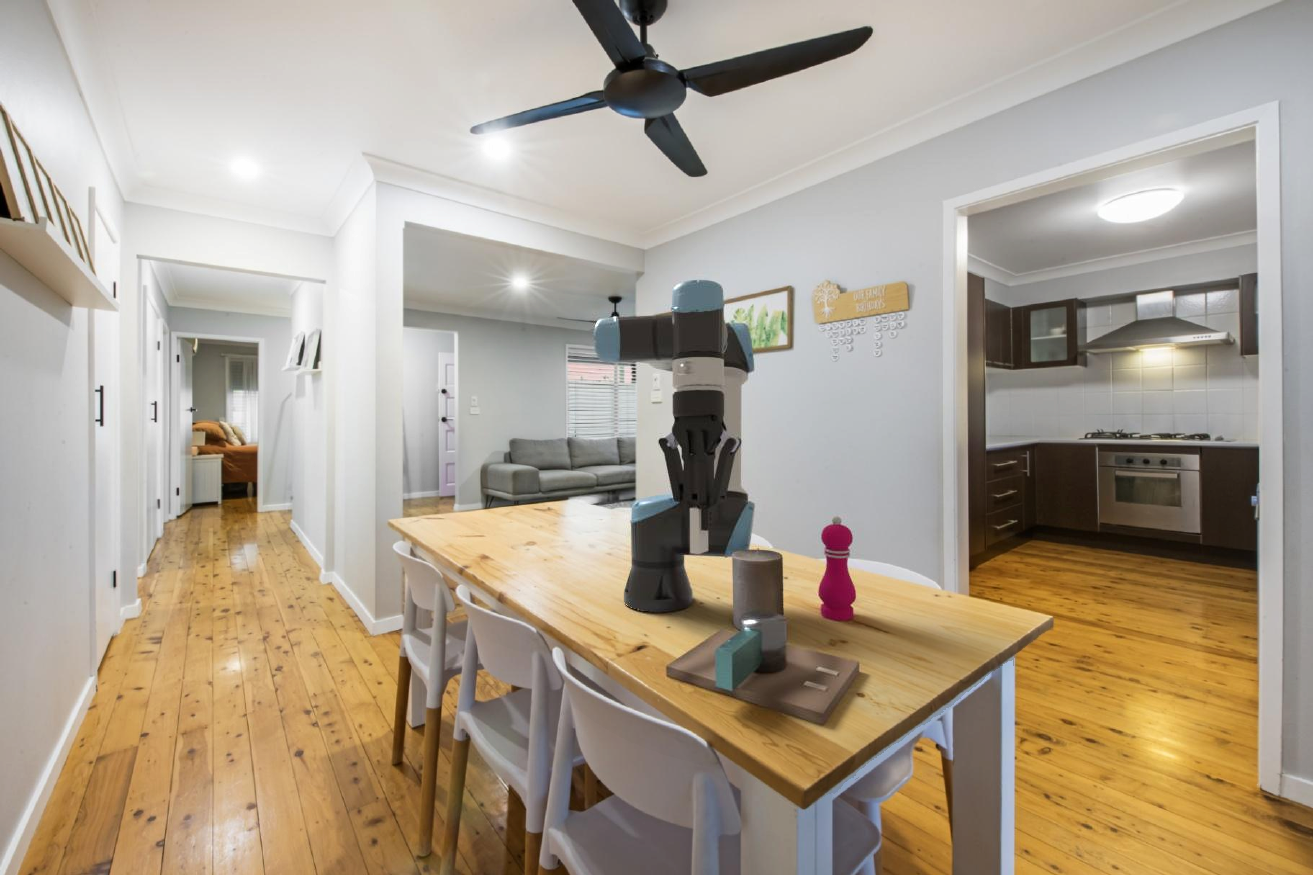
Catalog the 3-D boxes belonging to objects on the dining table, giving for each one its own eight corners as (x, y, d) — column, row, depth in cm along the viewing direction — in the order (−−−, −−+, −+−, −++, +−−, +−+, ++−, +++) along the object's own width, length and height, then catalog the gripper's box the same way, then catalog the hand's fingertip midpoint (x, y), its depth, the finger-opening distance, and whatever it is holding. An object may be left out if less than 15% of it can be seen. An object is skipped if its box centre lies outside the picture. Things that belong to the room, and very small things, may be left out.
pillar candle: (791, 622, 102) (790, 545, 102) (772, 639, 94) (771, 555, 94) (745, 614, 107) (744, 541, 107) (723, 628, 99) (722, 549, 99)
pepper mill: (849, 624, 101) (849, 520, 101) (813, 616, 105) (812, 517, 105) (860, 614, 107) (860, 515, 106) (825, 607, 111) (825, 512, 111)
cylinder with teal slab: (701, 690, 72) (700, 641, 72) (752, 648, 86) (751, 608, 86) (747, 705, 68) (747, 654, 68) (793, 659, 82) (793, 616, 82)
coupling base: (666, 675, 80) (666, 664, 80) (721, 637, 95) (721, 628, 95) (823, 725, 67) (822, 712, 66) (859, 671, 81) (859, 660, 81)
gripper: (646, 390, 77) (648, 551, 77) (726, 385, 69) (727, 563, 70) (674, 393, 83) (675, 542, 83) (750, 389, 76) (751, 552, 76)
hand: (699, 551), depth 76 cm, fingers closed
